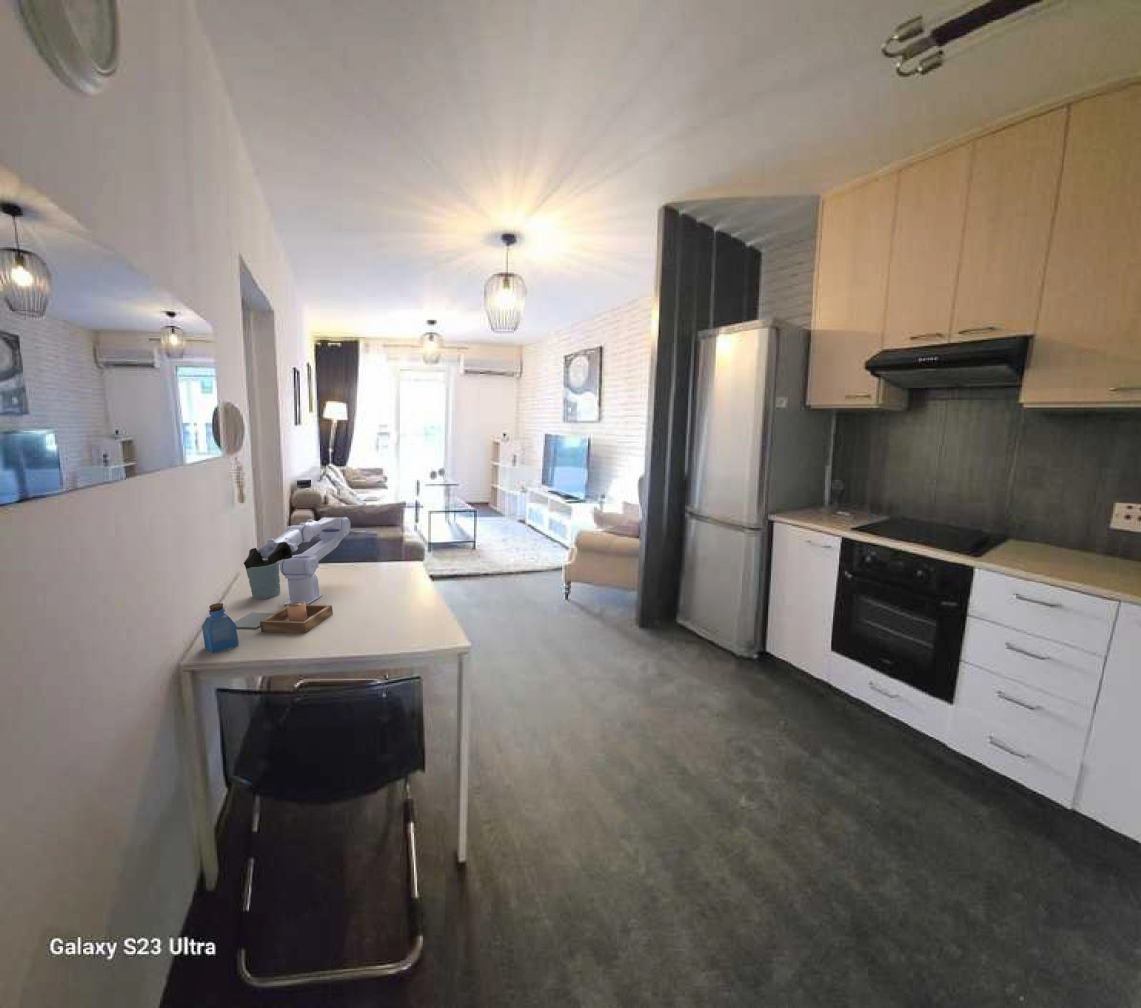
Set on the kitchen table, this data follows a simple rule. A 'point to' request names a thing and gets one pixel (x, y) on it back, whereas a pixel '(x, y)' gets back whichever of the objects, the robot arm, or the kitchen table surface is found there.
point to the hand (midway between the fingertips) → (257, 563)
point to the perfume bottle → (219, 630)
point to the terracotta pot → (297, 611)
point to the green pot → (264, 580)
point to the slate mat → (251, 620)
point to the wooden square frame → (277, 625)
